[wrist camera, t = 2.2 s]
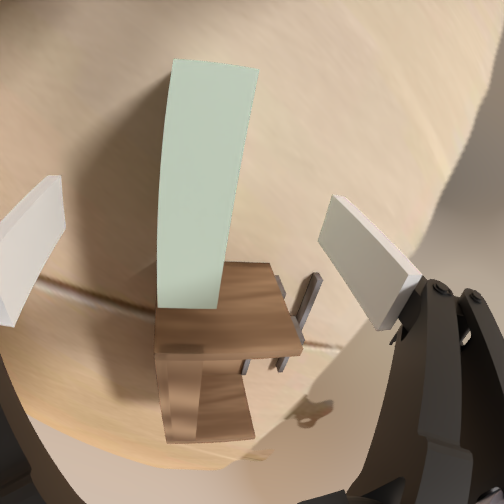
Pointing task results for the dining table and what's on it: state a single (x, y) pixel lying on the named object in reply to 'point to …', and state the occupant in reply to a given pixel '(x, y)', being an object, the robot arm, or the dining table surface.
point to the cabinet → (223, 352)
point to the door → (199, 178)
